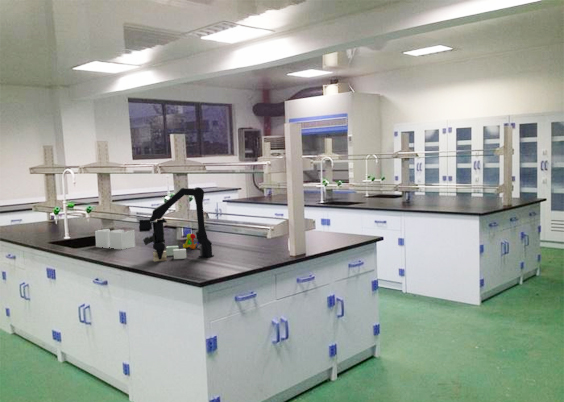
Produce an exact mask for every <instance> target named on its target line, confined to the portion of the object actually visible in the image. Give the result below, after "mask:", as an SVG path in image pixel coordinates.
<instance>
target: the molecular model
mask: <svg viewBox="0 0 564 402" xmlns="http://www.w3.org/2000/svg"><path fill="white" fill-rule="evenodd" d="M195 237H196V233H187V235H186V241H185V243H183V244H182V249H188V248H190V249H191V250H195V249H196V248H197V247H199V244H200V243H199V242H198V241H196V242H195V240H196V238H195ZM194 239H195V240H194Z"/></svg>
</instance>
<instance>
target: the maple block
mask: <svg viewBox="0 0 564 402" xmlns="http://www.w3.org/2000/svg"><path fill="white" fill-rule="evenodd" d="M152 254H153V256H152V259H153V262H165V261H167V259H168V258H167V254H166V250H164V252H163V255H162V258H161V259H159V258H158V254H157V251H156V250H155V251H153V252H152Z"/></svg>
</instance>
